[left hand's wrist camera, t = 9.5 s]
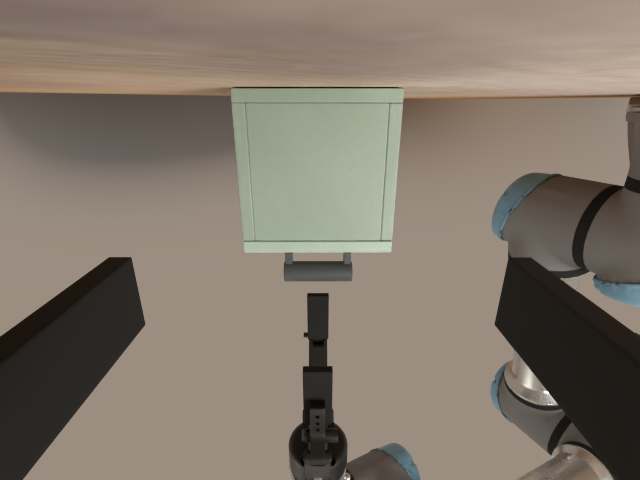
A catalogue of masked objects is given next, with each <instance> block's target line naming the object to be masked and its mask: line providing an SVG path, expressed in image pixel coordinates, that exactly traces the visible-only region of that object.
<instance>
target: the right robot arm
mask: <svg viewBox="0 0 640 480" xmlns="http://www.w3.org/2000/svg"><path fill="white" fill-rule="evenodd" d="M626 112H627V113H626V121H628V147H629V159H630V168H629V172H628V176H627V179H626V182H625V185H624V186H619V185H612V184H607V183H601V182H596V181H590V180H584V179H579V178H573V177H567V176H563V175H561V174H545V173H530V174H526V175H524V176H522V177H520V178H518V179H517V180H515V181H514V182H513V183H512V184H511V185H510V186H509V187H508V188H507V189H506V190H505V192H504V194H503V195H502V196H501V197H500V199H499V201H498V203H497V205H496V207H495V210H494V213H493V217H492V229H493V232H494V234H495V235H497V236H498V237H499V238H500V239H501V240H505V241H508V258H509V257H531V258H532V259H534V260H535V261H536V262H538V263H539V264H541V265H542V266H543V267H545V268H546V269H547V270H549V271H550V272H552V273H553V274H554V275H556V276H557V277H558V278H560V279H561V280H563V281H564V282H565V283H567V284H568V285H569V286H571V287H572V288H574V289H575V290H576V291H578V292H579V286H580V279H581V277H583V276H585V275H587V274H589V273H590V272H594V273H595V274H596V275H595V276H594V277H593V281H594V286H595V288H596V289H597V290H599V291H600V292H601V293H602V294H604V295H605V296H607V297H610V298H612V299H614V300H617V301H620V302H623V303H627V304H630V305H634V306H638V307H640V97H631V98H630V100H629V104H628V107H627V111H626ZM328 301H329V295H328V293H308V294H307V307H308V308H307V309H308V333H304V337H308V339H309V366H304V367H303V401H304V409H303V423H301V424H300V425H299V426H298V427H297V428H296V429H295V430H294V431H293V433H292V435H291V437H290V440H289V462H290V466H289V472H290V480H420V476H419V472H418V469H417V466H416V465H415V464H414V462H413V460H412V457H411V455H410V454H409V452H408V451H407V450H406V449H405V448H404V447H403V446H401V445H399V444H397V443H391V444H388V445H385V446H383V447H380V448H377V449H373V450H371V451H370V452H369V453H367V454H365V455H363V456H361V457H359V458H357V459H355V460H353V461H351V462H348V463H347V439H346V436H345V434H344V432H343V431H342V429H341V428H340V427H339V426H338V425H337V424H335V423H334V422H333V409H332V366H327V339H328ZM491 399H492V402H493V404H494V406H495V407H496V408H497V409H498V410H499V411H500V412H501V413H502V415H503V416H504V417H505V418H506V419H507V420H508V421H510V422H512V423H514V424H515V425H516V426H517V427H518V428H520V429H521V430H522V431H523V432H524V433H525V434H527V435H528V436H529V437H530V438H531V439H532V440H534V441H535V442H536V443H537V444H538V445H539V446H541V447H542V448H543V449H544V450H545V451H547V452H548V453H549V454H550V455H551V456H552V459H551V460H549V461H547V462H546V463H544V464H542V465H540V466H539V467H537V468H535V469H534V470H532V471H530V472H529V473H527V474H525V475H523V476H522V477H520V478H518V479H517V480H617V479H616V477H615V476H614V475H613V473H612V472H611V471H610V470H609V468H608V467H607V466H606V465H605V463H604V462H603V461H602V460H601V458H600V457H599V456H598V455H597V453H596V452H595V451H594V449H593V448H592V447H591V446H590V444H589V443H588V442H587V441H586V439H585V438H584V437H583V436H582V434H581V433H580V432H579V431H578V429H577V428H576V427H575V425H574V424H573V423H572V422H571V420H570V419H569V418H568V417H567V415H566V414H565V413H564V412H563V410H562V409H561V408H560V407H559V405H558V404H557V403H556V401H555V400H554V399H553V398H552V396H551V395H550V394H549V393H548V391H547V390H546V389H545V388H544V386H543V385H542V384H541V382H540V381H539V380H538V379H537V377H536V376H535V375H534V374H533V372H532V371H531V370H530V369H529V367H528V366H527V365H526V364H525V362H524V361H523V360H522V358H521V357H520V356H519V355H518V353H517V352H516V351H515V350H514V359H513V360H511V361H509V362H507V363H506V364H504V365H503V366H502V367H501V368H500V369H499V370H498V372H497V373H496V375H495V380H494V381H493V382H492V385H491Z"/></svg>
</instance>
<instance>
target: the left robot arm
mask: <svg viewBox="0 0 640 480" xmlns="http://www.w3.org/2000/svg"><path fill="white" fill-rule="evenodd" d="M144 326H145V321H144V316H143V311H142V306H141V301H140V297H139V292H138V287H137V282H136V278H135V273H134V268H133V263H132V259H131V257H109V258H108V259H106V260H105V261H104V262H102V263H101V264H100V265H98V266H97V267H95V268H94V269H93V270H91V271H90V272H88V273H87V274H86V275H84V276H83V277H82V278H80V279H79V280H77V281H76V282H75V283H73V284H72V285H71V286H69V287H68V288H67V289H65V290H64V291H62V292H61V293H60V294H58V295H57V296H56V297H54V298H53V299H51V300H50V301H49V302H47V303H46V304H45V305H43V306H42V307H40V308H39V309H38V310H36V311H35V312H34V313H32V314H31V315H29V316H28V317H27V318H25V319H24V320H23V321H21V322H20V323H19V324H17V325H16V326H14V327H13V328H12V329H10V330H9V331H7V332H6V333H5V334H3V335H2V336H0V480H23V479H24V477H25V476H26V475H27V473H28V472H29V471H30V470H31V468H32V467H33V466H34V465H35V463H36V462H37V461H38V460H39V458H40V457H41V456H42V455H43V453H44V452H45V451H46V449H47V448H48V447H49V446H50V444H51V443H52V442H53V441H54V439H55V438H56V437H57V435H58V434H59V433H60V432H61V431H62V429H63V428H64V427H65V425H66V424H67V423H68V422H69V420H70V419H71V418H72V417H73V415H74V414H75V413H76V412H77V410H78V409H79V408H80V406H81V405H82V404H83V403H84V401H85V400H86V399H87V398H88V396H89V395H90V394H91V393H92V391H93V390H94V389H95V387H96V386H97V385H98V384H99V382H100V381H101V380H102V379H103V377H104V376H105V375H106V374H107V372H108V371H109V370H110V369H111V367H112V366H113V365H114V364H115V362H116V361H117V360H118V358H119V357H120V356H121V355H122V353H123V352H124V351H125V350H126V348H127V347H128V346H129V345H130V343H131V342H132V341H133V340H134V338H135V337H136V336H137V334H138V333H139V332H140V331H141V329H142V328H143V327H144ZM495 326H496V327H497V328H498V329H499V331H500V332H501V333H502V334H503V336H504V337H505V338H506V339H507V341H508V342H509V343H510V345H511V346H512V347H513V348H514V350H515V351H516V352H517V353H518V355H519V356H520V357H521V358H522V360H523V361H524V362H525V364H526V365H527V366H528V367H529V369H530V370H531V371H532V372H533V374H534V375H535V376H536V377H537V379H538V380H539V381H540V382H541V384H542V385H543V386H544V388H545V389H546V390H547V391H548V393H549V394H550V395H551V396H552V398H553V399H554V400H555V401H556V403H557V404H558V405H559V407H560V408H561V409H562V410H563V412H564V413H565V414H566V415H567V417H568V418H569V419H570V420H571V422H572V423H573V424H574V425H575V427H576V428H577V429H578V431H579V432H580V433H581V434H582V436H583V437H584V438H585V439H586V441H587V442H588V443H589V444H590V446H591V447H592V448H593V449H594V451H595V452H596V453H597V455H598V456H599V457H600V458H601V460H602V461H603V462H604V463H605V465H606V466H607V467H608V468H609V470H610V471H611V472H612V473H613V475H614V476H615V477H616V479H617V480H640V335H639V334H637V333H634V332H633V331H631V330H630V329H628V328H627V327H626V326H624V325H623V324H622V323H620V322H619V321H617V320H616V319H615V318H613V317H612V316H611V315H609V314H608V313H606V312H605V311H604V310H602V309H601V308H600V307H598V306H597V305H595V304H594V303H593V302H591V301H590V300H588V299H587V298H586V297H584V296H583V295H582V294H580V293H579V292H578V291H576V290H575V289H574V288H572V287H571V286H569V285H568V284H567V283H565V282H564V281H563V280H561V279H560V278H558V277H557V276H556V275H554V274H553V273H552V272H550V271H549V270H547V269H546V268H545V267H543V266H542V265H541V264H539V263H538V262H536V261H535V260H534V259H532V258H531V257H509V258H508V263H507V268H506V273H505V278H504V282H503V287H502V292H501V297H500V301H499V306H498V311H497V316H496V320H495Z"/></svg>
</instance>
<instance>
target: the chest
mask: <svg viewBox="0 0 640 480" xmlns="http://www.w3.org/2000/svg"><path fill="white" fill-rule="evenodd" d="M403 97H404V88H231V101H232V114H233V126H234V138H235V150H236V162H237V174H238V185H239V197H240V209H241V221H242V233H243V240H244V241H254V240H256V241H300V240H380V239H381V240H392V235H393V223H394V210H395V197H396V185H397V172H398V160H399V147H400V134H401V122H402V109H403V104H402V102H403Z"/></svg>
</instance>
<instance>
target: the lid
mask: <svg viewBox="0 0 640 480" xmlns="http://www.w3.org/2000/svg"><path fill="white" fill-rule="evenodd" d="M243 244H244V252H285V263H284V280H285V281H352V262H351V252H391V249H392V241H391V240H381V239H380V240H300V241H256V240H254V241H244V242H243ZM293 252H344V256H343V261H293Z"/></svg>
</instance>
